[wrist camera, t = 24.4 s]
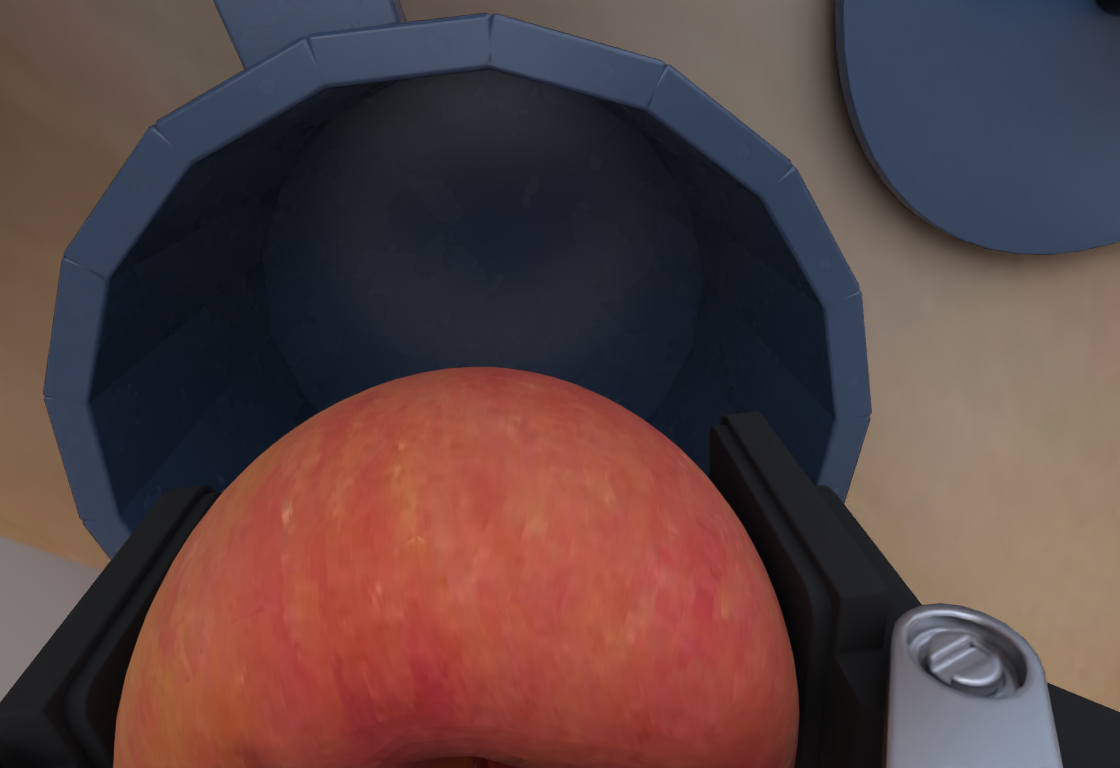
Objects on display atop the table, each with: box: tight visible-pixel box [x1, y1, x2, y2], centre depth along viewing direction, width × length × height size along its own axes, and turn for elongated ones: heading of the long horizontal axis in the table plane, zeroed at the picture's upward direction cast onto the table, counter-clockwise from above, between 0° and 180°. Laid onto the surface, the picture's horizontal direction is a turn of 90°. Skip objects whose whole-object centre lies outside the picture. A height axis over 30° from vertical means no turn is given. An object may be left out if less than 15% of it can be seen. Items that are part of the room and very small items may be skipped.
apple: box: [113, 367, 800, 768], centre depth 8 cm, size 7×7×8 cm
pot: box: [43, 0, 872, 560], centre depth 16 cm, size 14×20×10 cm
